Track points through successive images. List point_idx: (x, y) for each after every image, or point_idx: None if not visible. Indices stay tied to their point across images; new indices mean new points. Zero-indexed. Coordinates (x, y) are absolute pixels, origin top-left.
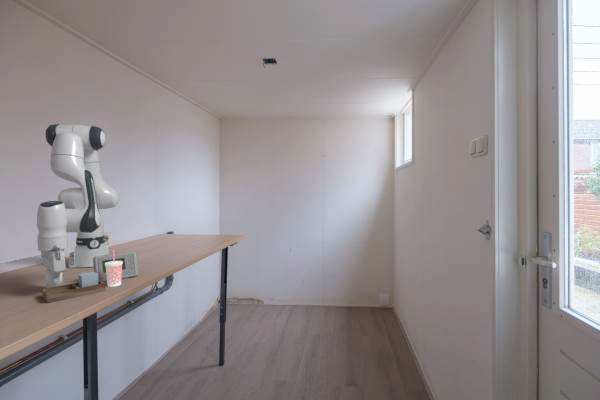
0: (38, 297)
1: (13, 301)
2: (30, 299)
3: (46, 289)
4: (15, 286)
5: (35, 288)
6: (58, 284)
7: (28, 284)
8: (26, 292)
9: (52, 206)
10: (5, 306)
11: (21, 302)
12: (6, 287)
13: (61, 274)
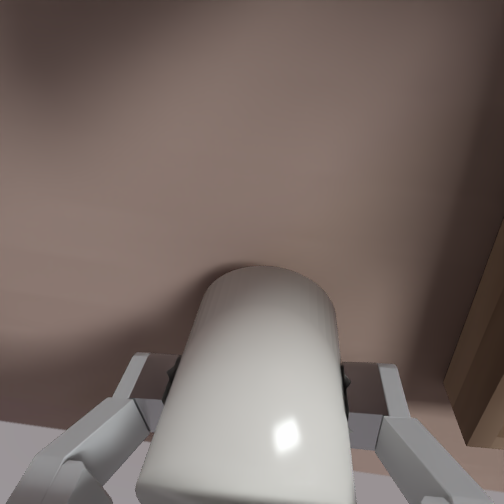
0: (432, 394)
1: None
2: (434, 422)
3: (495, 426)
4: (26, 403)
5: None
6: (336, 325)
7: (3, 365)
8: None
9: None
10: None
11: (454, 450)
12: (31, 423)
13: (310, 399)
